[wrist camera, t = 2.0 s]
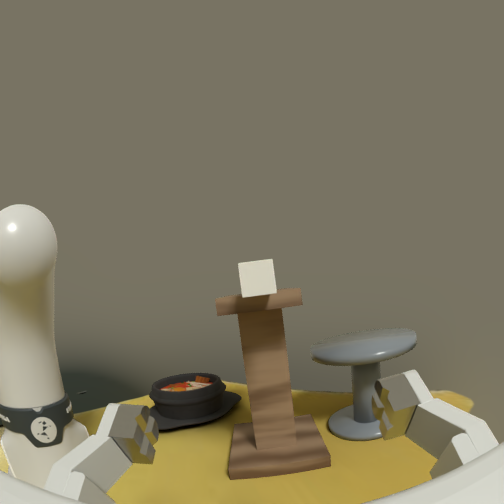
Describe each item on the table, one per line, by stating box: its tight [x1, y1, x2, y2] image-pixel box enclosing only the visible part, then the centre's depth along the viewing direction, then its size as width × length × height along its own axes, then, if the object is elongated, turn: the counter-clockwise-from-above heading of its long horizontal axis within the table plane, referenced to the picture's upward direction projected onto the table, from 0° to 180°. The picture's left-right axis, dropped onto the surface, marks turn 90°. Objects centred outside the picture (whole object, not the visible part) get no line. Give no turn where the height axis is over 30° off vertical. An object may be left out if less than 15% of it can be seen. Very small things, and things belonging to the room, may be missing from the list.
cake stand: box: [311, 328, 417, 441], centre depth 45 cm, size 18×18×16 cm
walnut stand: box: [215, 288, 331, 480], centre depth 43 cm, size 18×14×26 cm
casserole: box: [149, 373, 242, 430], centre depth 60 cm, size 25×19×8 cm
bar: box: [238, 259, 277, 298], centre depth 38 cm, size 24×3×3 cm, turn 0°
